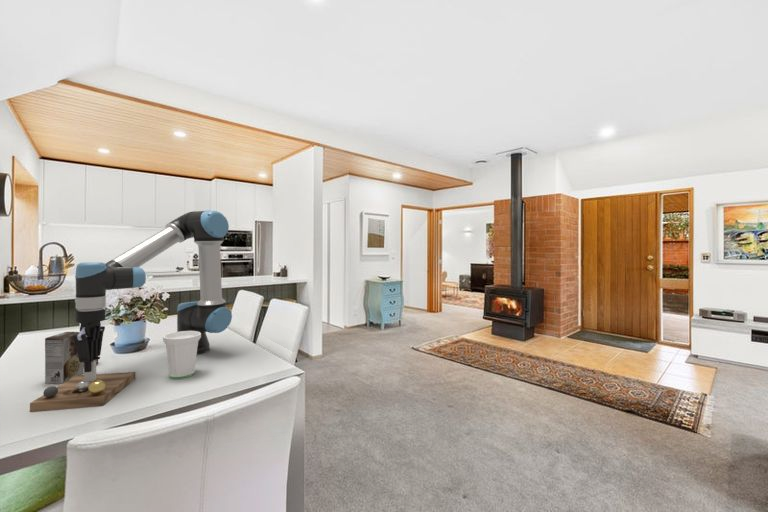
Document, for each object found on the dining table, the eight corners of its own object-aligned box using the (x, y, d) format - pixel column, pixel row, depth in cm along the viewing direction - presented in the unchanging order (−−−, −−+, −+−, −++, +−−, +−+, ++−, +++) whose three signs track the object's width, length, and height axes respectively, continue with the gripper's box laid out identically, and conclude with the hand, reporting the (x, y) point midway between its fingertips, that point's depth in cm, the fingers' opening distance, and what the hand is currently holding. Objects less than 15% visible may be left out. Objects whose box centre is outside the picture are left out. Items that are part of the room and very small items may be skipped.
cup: (160, 383, 121) (161, 340, 121) (164, 371, 132) (164, 332, 132) (200, 377, 127) (200, 336, 126) (200, 367, 138) (201, 329, 138)
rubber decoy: (60, 394, 105) (60, 383, 105) (53, 398, 102) (53, 388, 101) (47, 395, 104) (48, 384, 104) (40, 399, 101) (40, 389, 101)
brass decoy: (108, 390, 108) (108, 377, 108) (101, 396, 104) (101, 382, 104) (92, 391, 107) (92, 378, 107) (84, 397, 103) (85, 383, 103)
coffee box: (65, 374, 127) (66, 331, 127) (84, 374, 128) (84, 331, 128) (43, 384, 118) (43, 337, 118) (63, 383, 119) (63, 337, 118)
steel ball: (89, 393, 109) (93, 383, 111) (85, 388, 107) (89, 378, 109) (76, 394, 108) (80, 384, 110) (72, 389, 106) (76, 379, 108)
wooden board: (76, 382, 120) (76, 375, 120) (135, 378, 124) (135, 371, 124) (29, 411, 99) (29, 403, 98) (103, 405, 103) (103, 397, 103)
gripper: (88, 306, 117) (87, 374, 118) (64, 313, 105) (63, 389, 105) (114, 305, 119) (113, 372, 120) (92, 312, 107) (92, 387, 107)
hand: (89, 380), depth 112 cm, fingers closed
